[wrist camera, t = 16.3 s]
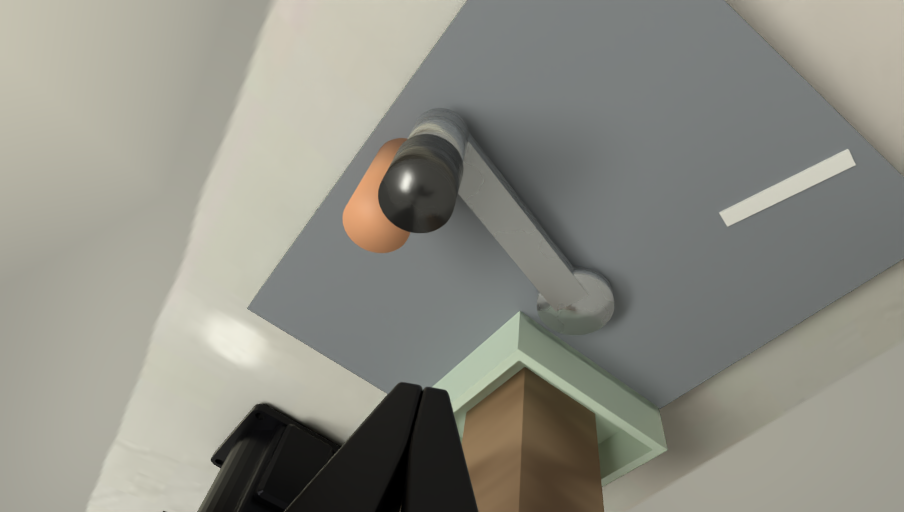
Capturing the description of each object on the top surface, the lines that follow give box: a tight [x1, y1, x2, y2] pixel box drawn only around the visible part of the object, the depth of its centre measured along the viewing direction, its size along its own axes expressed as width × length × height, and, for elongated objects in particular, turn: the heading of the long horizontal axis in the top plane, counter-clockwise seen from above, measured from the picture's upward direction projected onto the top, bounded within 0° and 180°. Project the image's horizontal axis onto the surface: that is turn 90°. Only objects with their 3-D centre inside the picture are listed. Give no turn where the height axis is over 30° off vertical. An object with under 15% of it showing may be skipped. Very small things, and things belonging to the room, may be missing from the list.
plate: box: [247, 0, 904, 409], centre depth 20 cm, size 20×16×5 cm
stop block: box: [462, 367, 604, 512], centre depth 22 cm, size 4×4×7 cm
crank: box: [378, 108, 614, 335], centre depth 18 cm, size 10×3×5 cm, turn 38°
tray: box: [433, 311, 668, 487], centre depth 25 cm, size 8×8×2 cm
